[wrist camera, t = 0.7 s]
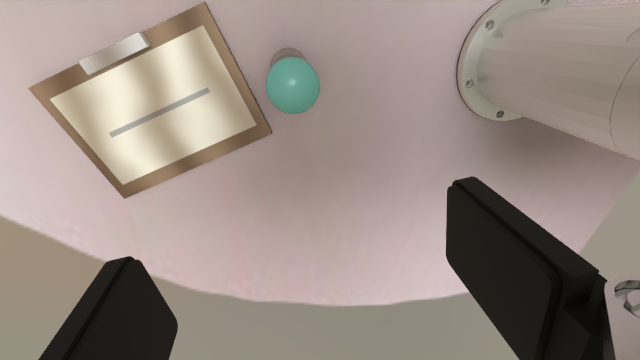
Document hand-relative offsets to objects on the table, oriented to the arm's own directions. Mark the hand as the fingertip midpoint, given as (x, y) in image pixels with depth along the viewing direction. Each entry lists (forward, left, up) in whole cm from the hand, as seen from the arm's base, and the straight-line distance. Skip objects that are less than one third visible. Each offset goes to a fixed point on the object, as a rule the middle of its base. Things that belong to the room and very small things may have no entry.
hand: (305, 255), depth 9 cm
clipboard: (+12, -3, -25) cm, 28 cm away
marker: (-1, -2, -25) cm, 25 cm away
